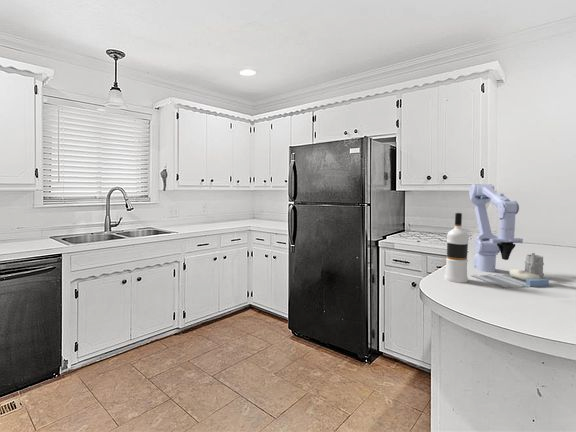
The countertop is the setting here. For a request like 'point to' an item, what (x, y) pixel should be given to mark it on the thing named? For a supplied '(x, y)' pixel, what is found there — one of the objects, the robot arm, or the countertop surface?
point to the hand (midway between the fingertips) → (505, 259)
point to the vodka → (457, 253)
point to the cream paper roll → (522, 274)
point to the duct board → (512, 281)
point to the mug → (534, 264)
